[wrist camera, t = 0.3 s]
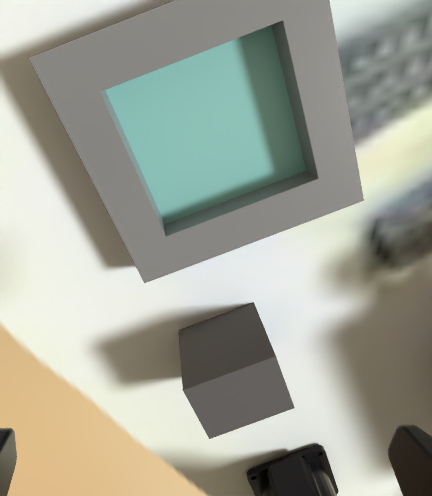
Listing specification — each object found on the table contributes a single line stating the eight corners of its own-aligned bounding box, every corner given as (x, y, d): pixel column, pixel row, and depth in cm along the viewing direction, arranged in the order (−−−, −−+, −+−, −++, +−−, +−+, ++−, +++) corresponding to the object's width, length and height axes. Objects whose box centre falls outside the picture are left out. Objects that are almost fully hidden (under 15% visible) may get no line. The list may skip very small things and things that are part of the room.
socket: (346, 189, 21) (363, 200, 19) (145, 265, 21) (144, 283, 19) (301, -43, 16) (319, -57, 14) (42, 59, 16) (28, 57, 15)
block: (270, 349, 25) (295, 409, 21) (201, 375, 25) (210, 440, 21) (253, 301, 23) (275, 356, 19) (178, 329, 24) (183, 390, 19)
